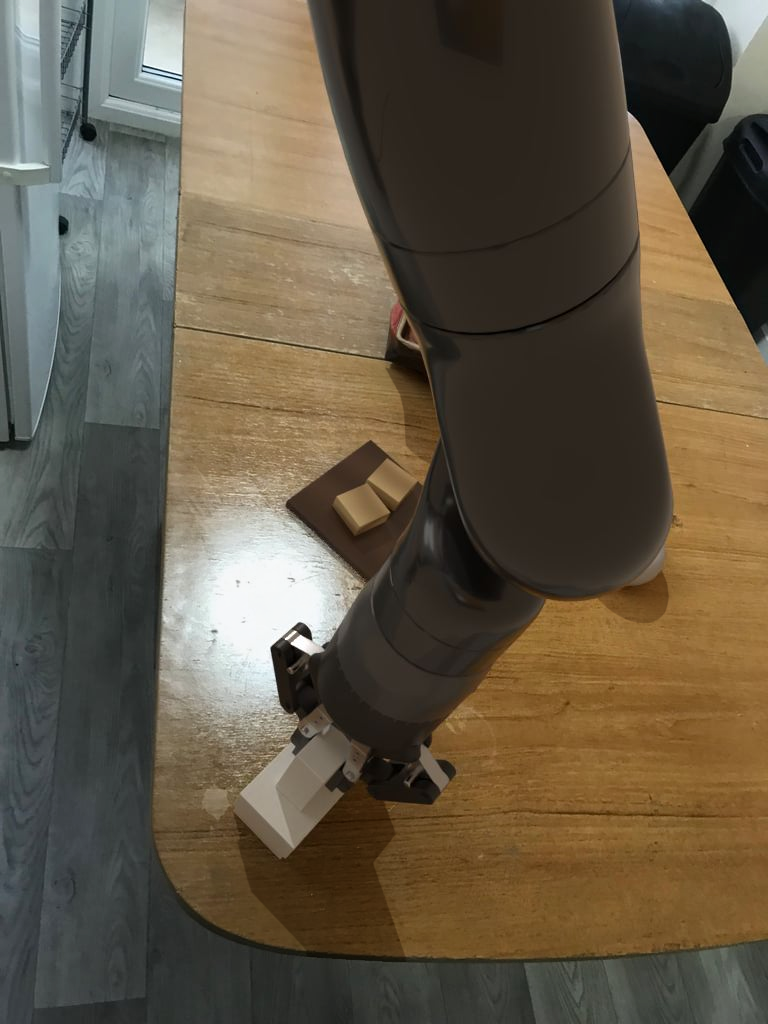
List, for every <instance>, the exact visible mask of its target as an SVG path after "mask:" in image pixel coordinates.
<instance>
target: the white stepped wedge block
mask: <svg viewBox="0 0 768 1024" xmlns="http://www.w3.org/2000/svg"><path fill="white" fill-rule="evenodd" d="M350 746H351V743H350V742H349V740H348V739H347V738H346V737H345V735H344V734H343V733H342V732H340V731H339V730H338V729H337V728H335V727H334V726H333V725H331V724H329V725H328V726H327V727H325V728H324V729H323V730H321V731H320V732H319V733H318V734H317V735H316V736H315V737H314V738H313V739H312V740H311V741H310V742H309V743H308V744H307V745H306V746H305V747H304V748H303V749H302V750H301V751H300V752H299V753H298V754H297V755H296V756H295V755H294V754H293V753H292V751H293V750H294V748H295V746H294V745H293V744H292V743H291V742H289V743H288V744H287V745H286V746H285V747H284V748H283V750H281V751H280V753H278V754H277V756H275V757H274V758H273V759H272V760H271V761H270V762H269V763H268V764H267V765H266V766H265V767H264V768H263V769H262V770H261V771H260V772H259V773H258V774H257V775H256V776H255V777H254V778H253V779H252V780H251V781H250V782H249V783H248V784H247V785H246V786H245V788H243V789H242V790H241V791H240V792H239V794H238V795H237V797H236V799H235V800H234V802H233V804H232V806H233V807H234V809H233V813H234V814H235V815H236V816H237V817H238V818H239V819H240V820H241V821H242V822H243V823H244V824H245V826H247V828H249V830H250V831H252V833H253V834H254V835H256V837H257V838H258V839H259V840H260V841H261V842H262V843H263V844H264V845H265V846H266V848H268V849H269V850H270V851H271V852H272V853H273V854H274V855H275V857H277V858H278V859H279V860H282V859H283V858H284V859H285V860H286V859H287V858H288V857H289V856H290V855H291V853H292V852H293V851H294V850H295V849H296V848H297V847H298V846H299V845H300V844H301V843H302V841H304V839H305V838H306V837H307V836H308V835H309V834H310V832H311V831H312V830H313V829H314V828H315V827H316V826H317V825H318V823H319V822H321V820H322V819H323V818H324V817H325V815H327V813H328V812H329V811H330V810H331V809H332V808H333V807H334V806H335V804H336V803H338V801H339V800H340V799H341V798H342V797H343V795H345V793H342V792H341V791H340V790H339V789H338V788H337V787H336V788H335V790H334V791H333V792H331V791H330V790H329V789H328V788H327V787H326V786H325V784H326V783H327V782H328V781H329V779H330V778H331V777H332V776H333V775H334V774H335V772H336V771H337V770H338V769H339V768H340V767H341V766H342V764H343V763H344V762H345V760H344V759H345V757H346V755H347V753H348V750H349V748H350Z"/></svg>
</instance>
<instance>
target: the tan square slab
mask: <svg viewBox="0 0 768 1024" xmlns="http://www.w3.org/2000/svg"><path fill="white" fill-rule="evenodd" d="M402 468H403V467H402ZM402 468H400V467H399V466H397V465H396V464H395V463H393V462H392V461H391V460H389V459H388V458H387V459H386V460H385V461H384V462H383V463H382V464H381V465H380V466H379V467H378V469H377V470H376V471H375V472H374V473H373V474H372V475H371V476H370V477H369V478H368V479H367V481H366V483H368V485H369V486H370V487H371V488H372V490H373V491H374V492H375V494H376V495H377V496H378V497H379V499H380V500H381V501H382V502H383V504H384V505H386V506H387V507H388V508H390V509H391V510H392V511H395V510H396V509H397V507H398V506H399V505H400V504H401V503H402V502H403V501H404V499H405V498H406V497H407V496H408V495H409V494H410V492H411V491H412V490H413V489H414V487H415V485H416V484H417V482H419V480H418V479H417V478H415V477H414V476H413V475H411V473H409V472H408V471H407V470H406V471H407V472H408V473H409V474H408V473H407V472H406V471H404V470H403V469H402ZM412 476H413V477H412ZM366 483H365V484H366Z"/></svg>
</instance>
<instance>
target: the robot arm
mask: <svg viewBox="0 0 768 1024" xmlns="http://www.w3.org/2000/svg"><path fill="white" fill-rule="evenodd" d="M305 1H306V6H307V11H308V17H309V21H310V25H311V30H312V35H313V40H314V44H315V49H316V53H317V59H318V62H319V66H320V71H321V75H322V79H323V83H324V88H325V92H326V95H327V98H328V102H329V107H330V110H331V114H332V117H333V120H334V124H335V127H336V131H337V134H338V138H339V142H340V145H341V148H342V152H343V155H344V159H345V161H346V165H347V167H348V171H349V173H350V177H351V180H352V183H353V185H354V188H355V191H356V194H357V196H358V197H357V198H358V199H359V202H360V205H361V208H362V210H363V213H364V216H365V218H366V221H367V224H368V226H369V228H370V232H371V234H372V237H373V239H374V242H375V244H376V247H377V249H378V252H379V255H380V257H381V259H382V262H383V264H384V267H385V271H386V272H387V275H388V278H389V280H390V283H391V286H392V288H393V290H394V293H395V295H396V297H397V302H398V301H399V303H400V306H401V308H402V310H403V312H404V314H405V317H406V319H407V321H408V323H409V325H410V327H411V329H412V331H413V333H414V335H415V337H416V339H417V342H418V345H419V347H420V350H421V353H422V357H423V360H424V363H425V367H426V370H427V374H428V377H429V378H428V377H427V378H428V381H429V386H430V390H431V397H432V401H433V406H434V407H433V408H434V411H435V417H436V421H437V427H438V431H439V438H438V440H437V443H436V446H435V448H434V450H433V451H434V452H433V454H432V456H431V460H430V462H429V466H428V469H427V472H426V475H425V478H424V481H423V484H422V485H423V488H422V491H421V495H420V498H419V501H418V504H417V507H416V510H415V512H414V515H413V518H412V520H411V521H410V523H409V525H408V526H407V528H406V529H405V530H404V532H403V533H402V534H401V536H400V537H399V539H398V540H397V542H396V543H395V545H394V547H393V548H392V550H391V551H390V553H389V555H388V556H387V558H386V560H385V561H384V563H383V564H382V566H381V568H380V570H379V571H378V572H377V573H376V574H375V575H374V576H373V577H372V578H371V579H370V580H369V581H366V583H365V584H364V586H363V587H362V589H361V590H360V591H359V592H358V594H357V595H356V597H355V599H354V601H353V602H352V604H351V605H350V607H349V609H348V611H346V614H345V616H344V617H343V619H342V621H340V623H339V626H338V627H337V628H336V630H335V632H334V633H333V635H332V637H331V638H330V640H329V641H327V642H324V643H323V644H322V645H320V644H318V643H316V642H315V641H314V640H313V633H312V631H311V629H310V627H309V626H308V625H307V624H305V622H302V621H299V622H296V624H295V625H294V626H292V627H291V628H290V629H289V630H288V631H287V632H285V633H284V634H283V635H282V636H281V637H279V638H278V639H277V640H276V641H275V642H273V644H272V645H271V646H270V648H269V650H270V655H271V662H272V668H273V672H274V678H275V685H276V689H277V696H278V702H279V705H280V707H281V708H282V709H283V711H285V712H286V714H289V715H293V714H295V715H296V716H297V718H298V721H299V722H298V723H297V725H296V726H297V727H296V728H295V730H294V731H293V733H292V735H291V736H290V743H292V744H293V745H294V746H295V748H294V750H293V751H292V753H293V754H294V755H295V756H296V755H297V754H298V753H299V752H300V751H301V750H302V749H303V748H304V747H305V746H306V745H307V744H308V743H309V742H310V741H311V740H312V739H313V738H314V737H315V736H316V735H317V734H318V733H319V732H320V731H321V730H323V729H324V728H325V727H327V726H328V725H329V724H331V725H333V726H334V727H335V728H337V729H338V730H339V731H340V732H342V733H343V734H344V735H345V737H346V738H347V739H348V740H349V742H350V743H351V746H350V748H349V750H348V753H347V755H346V757H345V759H344V760H345V762H344V763H343V764H342V766H341V767H340V768H339V769H338V770H337V771H336V772H335V774H334V775H333V776H332V777H331V778H330V779H329V781H328V782H327V783H326V784H325V786H326V787H327V788H328V789H329V790H330V791H331V792H333V791H334V790H335V788H336V787H337V788H338V789H339V790H340V791H341V792H342V793H344V794H345V793H346V794H347V792H348V791H349V790H350V789H351V788H352V787H353V786H354V785H355V784H357V783H358V782H359V781H361V782H363V783H365V784H366V786H365V787H366V788H365V789H366V792H367V794H368V795H369V796H370V797H371V798H373V800H375V801H379V802H390V803H391V802H392V803H403V804H412V805H413V804H415V805H425V806H431V805H433V804H435V802H436V801H437V799H438V798H439V797H440V795H442V793H443V792H444V791H445V790H446V788H447V787H448V786H449V784H450V783H451V781H452V780H453V779H454V777H455V776H456V775H457V769H456V768H455V766H454V765H453V764H452V763H451V762H450V761H448V760H447V759H438V758H437V759H435V757H434V755H433V753H432V752H431V750H430V749H429V748H430V747H431V745H432V742H433V733H434V731H436V729H438V728H439V727H440V726H441V724H442V723H443V722H445V720H446V719H448V718H449V716H450V715H452V713H454V711H455V710H456V709H458V707H459V706H461V704H462V703H463V702H465V701H466V700H467V699H468V697H470V695H473V694H474V693H475V692H476V691H477V689H478V687H479V686H480V685H481V684H482V682H483V681H484V680H485V679H486V677H487V675H488V674H489V672H490V671H491V669H492V667H493V666H494V664H495V663H496V661H498V660H499V658H501V657H502V656H503V654H504V653H506V651H507V650H509V648H510V647H511V646H513V644H514V643H515V642H516V641H517V640H518V639H519V638H520V637H521V636H522V635H524V633H525V631H527V630H528V629H529V627H530V626H531V625H532V624H533V623H534V622H535V620H536V619H537V618H538V616H539V615H540V614H541V612H542V610H543V608H544V606H545V603H546V602H547V600H549V601H554V602H555V601H556V602H565V603H566V602H571V603H572V602H574V603H575V602H585V601H590V600H595V599H599V598H603V597H606V596H608V595H611V594H613V593H616V592H618V591H619V590H622V589H623V588H625V587H628V586H627V585H628V584H630V583H631V582H633V581H634V580H635V579H637V578H638V577H639V576H640V575H641V574H642V573H643V572H644V571H645V570H646V569H647V568H648V567H649V566H650V565H651V564H652V562H653V561H654V560H655V559H656V557H657V556H658V554H659V553H660V551H661V549H662V547H663V545H664V543H665V544H666V541H667V540H668V537H669V534H670V531H671V528H672V525H673V518H674V507H675V502H674V491H673V490H674V489H673V484H672V478H671V473H670V467H669V460H668V455H667V450H666V444H665V440H664V435H663V428H662V422H661V418H660V412H659V408H658V402H657V398H656V397H657V396H656V393H655V387H654V383H653V378H652V373H651V368H650V364H649V359H648V354H647V349H646V343H645V337H644V328H643V313H642V311H643V310H642V293H641V292H642V291H641V290H642V289H641V287H642V286H641V259H642V258H641V257H642V256H641V255H642V254H641V231H640V224H639V211H638V201H637V191H636V182H635V172H634V162H633V161H634V160H633V152H632V141H631V133H630V132H631V131H630V122H629V114H628V104H627V103H628V102H627V95H626V88H625V80H624V79H625V78H624V72H623V65H622V56H621V49H620V43H619V37H618V29H617V21H616V15H615V14H616V13H615V9H614V3H613V0H305Z"/></svg>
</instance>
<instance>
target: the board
mask: <svg viewBox="0 0 768 1024" xmlns="http://www.w3.org/2000/svg"><path fill="white" fill-rule="evenodd" d="M387 458H388V459H389V460H391V461H392V462H393V463H395V464H396V465H397V466H399V467H400V468H402V469H403V470H404V471H406V472H407V473H408V474H410V473H409V471H407V470H406V469H405V468H404V467H403V466H401V464H399V463H398V462H397V461H396V460H395V459H393V458H392V457H391V456H390V455H389V454H388V453H386V452H385V451H384V450H383V449H382V448H381V447H379V445H378V444H376V442H375V441H373V440H372V439H369V440H368V441H366V442H365V443H364V444H363V445H360V447H358V448H357V449H356V450H355V451H352V453H350V454H349V455H348V456H346V457H344V458H343V459H342V460H341V461H338V463H336V464H335V465H334V466H332V467H330V468H329V469H328V470H327V471H325V472H324V473H323V474H321V475H320V476H318V477H317V478H316V479H314V480H313V481H311V482H310V483H309V484H307V485H306V486H305V487H304V488H301V490H299V491H298V492H296V493H295V494H294V495H293V496H291V497H290V498H288V499H287V500H286V503H285V505H284V506H285V508H287V509H288V510H289V511H290V512H291V513H293V514H294V515H295V516H296V517H297V518H298V519H299V520H300V521H301V522H302V523H303V524H305V526H306V527H308V528H309V529H310V530H311V531H312V532H313V533H314V534H315V535H316V536H318V538H320V539H321V540H322V541H323V542H324V543H325V544H326V545H327V546H328V547H329V548H330V549H331V550H333V551H334V552H335V554H337V555H338V556H339V557H340V558H341V559H342V560H343V561H345V562H346V563H347V564H348V565H349V567H351V568H352V569H353V570H354V571H356V573H358V574H359V575H360V576H361V577H362V579H364V580H365V581H366V582H368V581H369V580H370V579H371V578H372V577H373V576H374V575H375V574H376V573H377V572H378V571H379V570H380V568H381V566H382V564H383V563H384V561H385V560H386V558H387V556H388V555H389V553H390V551H391V550H392V548H393V547H394V545H395V543H396V542H397V540H398V539H399V537H400V536H401V534H402V533H403V532H404V530H405V529H406V528H407V526H408V525H409V523H410V521H411V520H412V518H413V515H414V512H415V510H416V507H417V504H418V501H419V498H420V495H421V491H422V488H423V485H424V484H422V483H421V482H420V481H418V482H417V484H416V485H415V487H414V489H413V490H412V491H411V492H410V494H409V495H408V496H407V497H406V498H405V499H404V501H403V502H402V503H401V504H400V505H399V506H398V507H397V509H396V510H395V511H392V510H391V509H390V508H388V507H387V506H386V505H385V506H386V508H387V509H388V510H389V511H390V514H389V516H388V518H387V520H386V521H385V522H384V523H382V524H380V525H377V526H375V527H373V528H371V529H369V530H367V531H365V532H363V533H361V534H358V535H356V536H355V535H354V534H353V533H352V531H351V530H350V529H349V527H348V526H347V525H346V523H345V522H344V521H343V520H342V518H341V517H340V516H339V514H338V513H337V512H336V510H335V509H334V508H333V506H332V505H333V503H334V501H335V499H336V497H337V496H339V495H341V494H343V493H346V492H348V491H350V490H353V489H355V488H357V487H360V486H362V485H364V484H365V483H366V481H367V479H368V478H369V477H370V476H371V475H372V474H373V473H374V472H375V471H376V470H377V469H378V467H379V466H380V465H381V464H382V463H383V462H384V461H385V460H386V459H387ZM411 476H412V477H414V476H413V475H411Z"/></svg>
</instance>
